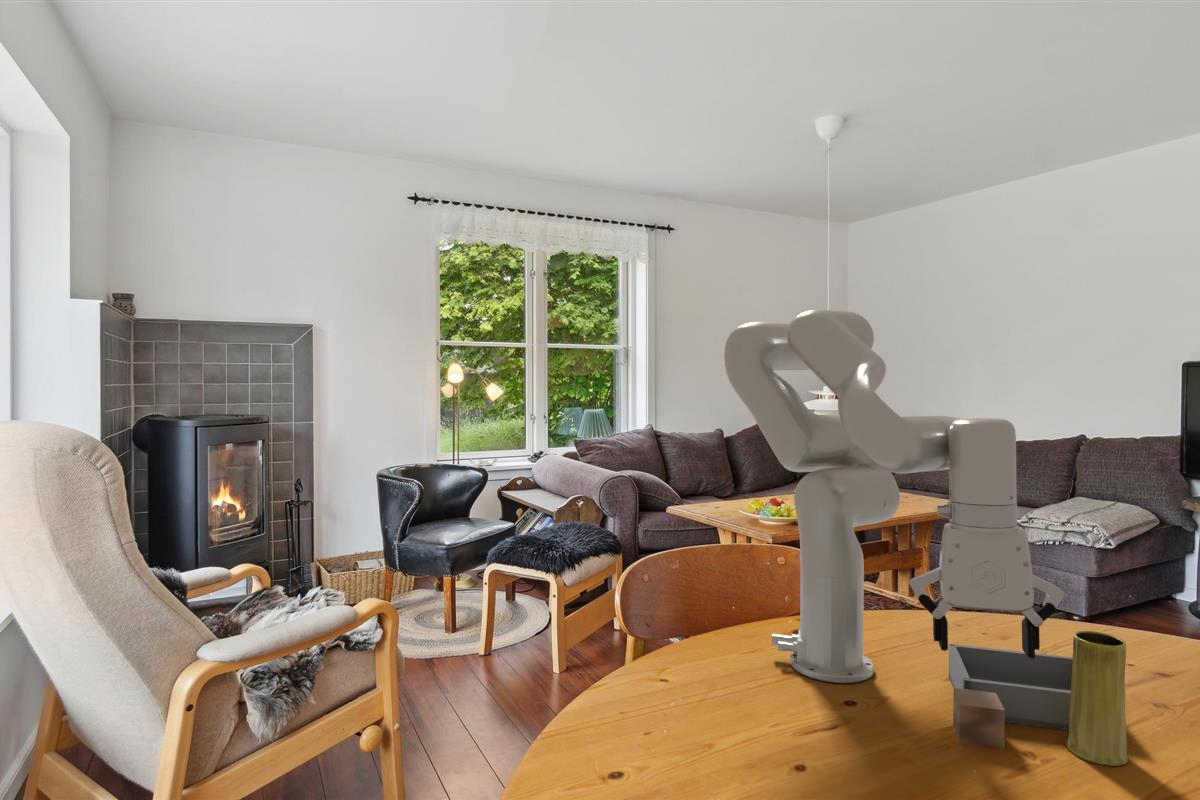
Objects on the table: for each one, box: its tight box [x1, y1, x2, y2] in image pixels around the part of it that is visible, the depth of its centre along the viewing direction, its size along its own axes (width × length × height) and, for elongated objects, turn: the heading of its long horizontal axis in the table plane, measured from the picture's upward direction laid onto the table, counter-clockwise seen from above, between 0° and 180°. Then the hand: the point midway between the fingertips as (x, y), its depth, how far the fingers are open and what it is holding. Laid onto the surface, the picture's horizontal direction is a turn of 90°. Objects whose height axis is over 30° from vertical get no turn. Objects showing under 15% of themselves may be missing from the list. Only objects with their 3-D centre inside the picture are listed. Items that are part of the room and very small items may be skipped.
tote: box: [948, 643, 1073, 732], centre depth 98 cm, size 18×14×5 cm
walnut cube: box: [952, 688, 1006, 750], centre depth 90 cm, size 5×5×5 cm
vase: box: [1066, 630, 1129, 767], centre depth 85 cm, size 6×6×14 cm
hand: (985, 650), depth 89 cm, fingers open, 9 cm apart
